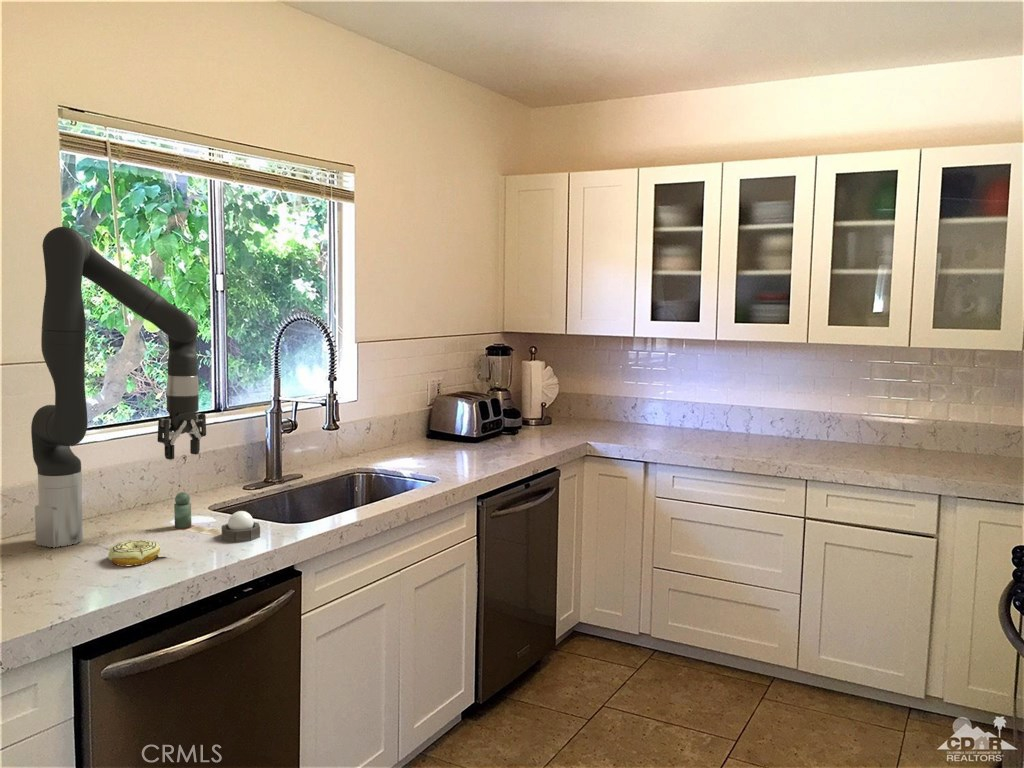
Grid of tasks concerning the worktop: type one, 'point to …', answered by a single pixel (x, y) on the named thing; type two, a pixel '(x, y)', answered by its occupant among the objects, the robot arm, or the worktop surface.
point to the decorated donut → (134, 552)
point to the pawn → (182, 511)
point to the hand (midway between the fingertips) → (182, 456)
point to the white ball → (240, 521)
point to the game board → (229, 532)
